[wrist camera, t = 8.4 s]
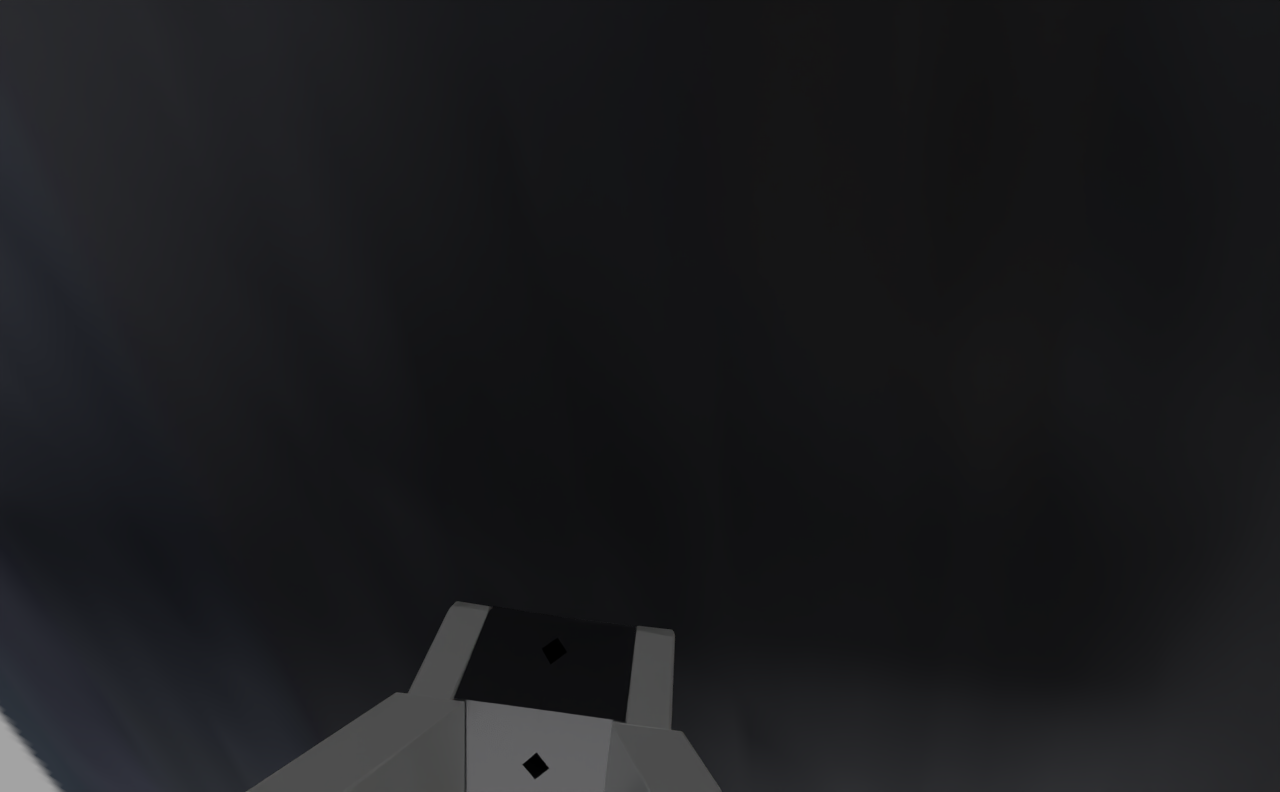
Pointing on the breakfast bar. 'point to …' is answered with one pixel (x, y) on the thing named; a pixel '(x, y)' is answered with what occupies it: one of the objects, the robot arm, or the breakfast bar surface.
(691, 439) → the breakfast bar surface
